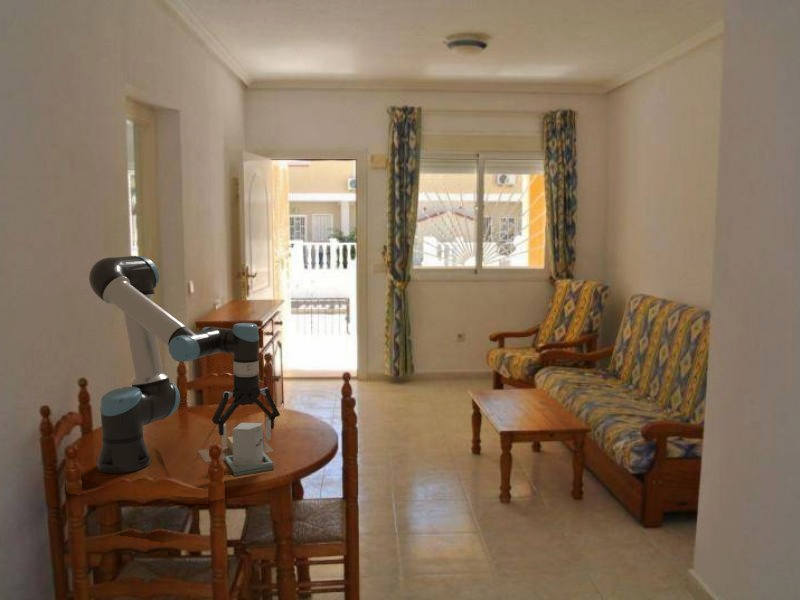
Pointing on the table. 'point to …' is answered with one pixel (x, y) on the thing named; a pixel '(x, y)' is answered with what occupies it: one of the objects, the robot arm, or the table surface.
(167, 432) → the table surface
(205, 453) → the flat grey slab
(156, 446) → the table surface
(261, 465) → the grey-green flat square frame
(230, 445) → the beige wooden block
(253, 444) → the supplement box
